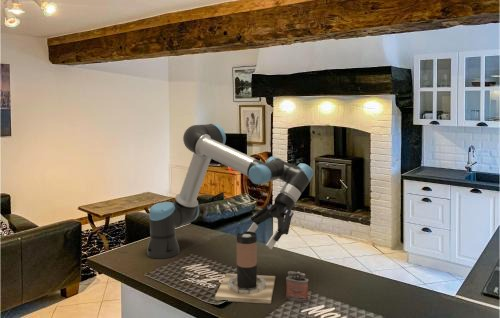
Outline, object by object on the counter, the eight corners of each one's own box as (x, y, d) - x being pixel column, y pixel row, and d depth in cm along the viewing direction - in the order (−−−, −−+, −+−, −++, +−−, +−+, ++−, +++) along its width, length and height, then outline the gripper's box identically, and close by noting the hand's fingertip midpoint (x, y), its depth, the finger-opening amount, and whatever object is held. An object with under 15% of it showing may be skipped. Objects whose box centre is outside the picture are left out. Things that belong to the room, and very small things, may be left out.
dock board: (226, 277, 163) (226, 273, 163) (275, 279, 160) (275, 276, 160) (215, 300, 143) (214, 296, 143) (270, 303, 141) (270, 299, 140)
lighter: (309, 298, 145) (309, 271, 143) (307, 302, 141) (307, 275, 140) (287, 295, 147) (287, 268, 146) (284, 299, 144) (285, 272, 143)
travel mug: (254, 290, 147) (254, 238, 145) (234, 289, 149) (234, 236, 146) (258, 282, 155) (258, 231, 152) (239, 280, 156) (239, 230, 154)
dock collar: (232, 276, 160) (231, 273, 159) (267, 278, 158) (267, 275, 157) (224, 292, 146) (224, 289, 146) (263, 295, 144) (263, 291, 144)
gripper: (314, 209, 150) (284, 257, 144) (272, 197, 170) (243, 239, 163) (304, 197, 147) (273, 246, 140) (262, 187, 167) (232, 228, 160)
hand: (257, 242), depth 152 cm, fingers open, 13 cm apart
